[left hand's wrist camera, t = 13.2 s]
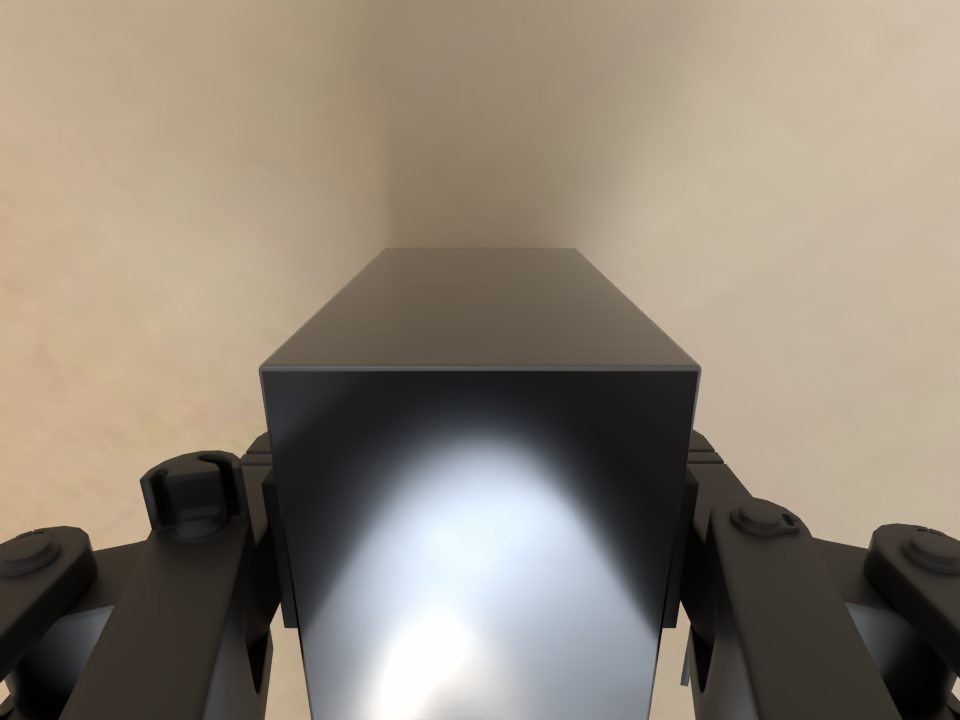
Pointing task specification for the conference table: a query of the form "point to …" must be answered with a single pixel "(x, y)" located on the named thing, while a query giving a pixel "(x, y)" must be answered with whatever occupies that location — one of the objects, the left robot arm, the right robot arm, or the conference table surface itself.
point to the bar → (480, 488)
